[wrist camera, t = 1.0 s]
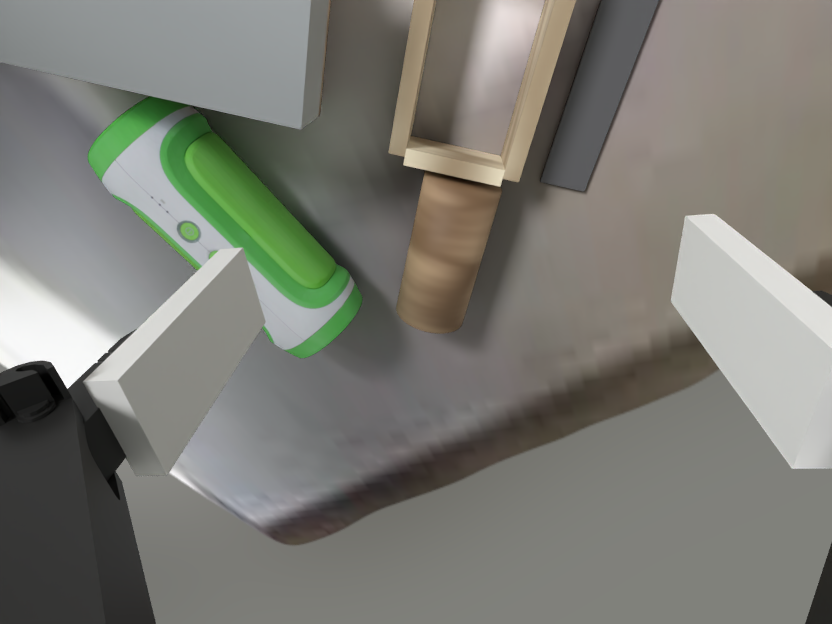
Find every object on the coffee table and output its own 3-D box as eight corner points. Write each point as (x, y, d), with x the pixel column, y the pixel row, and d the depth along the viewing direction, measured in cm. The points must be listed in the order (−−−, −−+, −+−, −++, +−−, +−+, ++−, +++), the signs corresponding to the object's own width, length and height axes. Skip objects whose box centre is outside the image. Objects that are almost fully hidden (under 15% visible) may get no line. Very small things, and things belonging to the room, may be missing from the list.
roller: (389, 294, 38) (405, 333, 34) (415, 163, 32) (438, 191, 29) (450, 296, 39) (472, 333, 35) (484, 172, 34) (515, 200, 30)
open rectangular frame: (393, 147, 33) (386, 161, 30) (436, -102, 26) (433, -116, 23) (510, 174, 33) (516, 190, 30) (583, -65, 26) (599, -75, 23)
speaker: (130, 148, 34) (54, 180, 28) (195, 76, 32) (128, 93, 25) (308, 323, 41) (280, 381, 34) (375, 276, 38) (358, 329, 32)
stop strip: (540, 180, 33) (540, 181, 33) (619, -57, 26) (621, -57, 26) (583, 190, 33) (584, 191, 33) (673, -43, 27) (675, -44, 26)
